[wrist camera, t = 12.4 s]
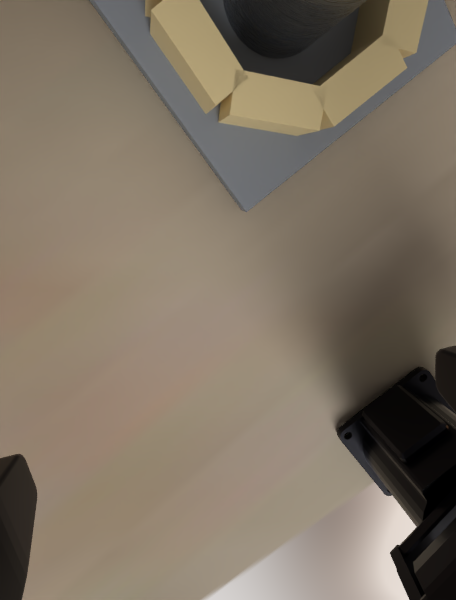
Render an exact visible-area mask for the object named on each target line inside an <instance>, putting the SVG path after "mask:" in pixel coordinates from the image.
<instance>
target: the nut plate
mask: <svg viewBox="0 0 456 600" xmlns="http://www.w3.org/2000/svg"><path fill="white" fill-rule="evenodd" d="M89 1H90V2H91V3H92V5H93V6H94V8H95V9H96V10H97V12H98V13H99V14H100V16H101V17H102V19H103V20H104V21H105V23H106V24H107V25H108V27H109V28H110V30H111V31H112V32H113V34H114V35H115V36H116V38H117V39H118V41H119V42H120V43H121V45H122V46H123V47H124V49H125V50H126V52H127V53H128V54H129V56H130V57H131V58H132V60H133V61H134V63H135V64H136V65H137V67H138V68H139V70H140V71H141V72H142V74H143V75H144V76H145V78H146V79H147V81H148V82H149V83H150V85H151V86H152V87H153V89H154V90H155V92H156V93H157V94H158V96H159V97H160V98H161V100H162V101H163V103H164V104H165V105H166V107H167V108H168V109H169V111H170V112H171V114H172V115H173V116H174V118H175V119H176V121H177V122H178V123H179V125H180V126H181V127H182V129H183V130H184V132H185V133H186V134H187V136H188V137H189V138H190V140H191V141H192V143H193V144H194V145H195V147H196V148H197V149H198V151H199V152H200V154H201V155H202V156H203V158H204V159H205V160H206V162H207V163H208V165H209V166H210V167H211V169H212V170H213V171H214V173H215V174H216V176H217V177H218V178H219V180H220V181H221V183H222V184H223V185H224V187H225V188H226V189H227V191H228V192H229V194H230V195H231V196H232V198H233V199H234V200H235V202H236V203H237V205H238V206H239V207H240V209H241V210H243V211H245V212H247V211H248V210H250V209H251V208H252V207H253V206H255V205H256V204H257V203H258V202H260V201H261V200H262V199H263V198H265V197H266V196H267V195H268V194H270V193H271V192H272V191H273V190H274V189H276V188H277V187H278V186H279V185H281V184H282V183H283V182H284V181H286V180H287V179H288V178H289V177H291V176H292V175H293V174H294V173H296V172H297V171H298V170H299V169H301V168H302V167H303V166H304V165H306V164H307V163H308V162H309V161H311V160H312V159H313V158H314V157H316V156H317V155H318V154H319V153H321V152H322V151H323V150H324V149H326V148H327V147H328V146H329V145H331V144H332V143H333V142H334V141H335V140H337V139H338V138H339V137H340V136H342V135H343V134H344V133H345V132H347V131H348V130H349V129H350V128H352V127H353V126H354V125H355V124H357V123H358V122H359V121H360V120H362V119H363V118H364V117H365V116H367V115H368V114H369V113H370V112H372V111H373V110H374V109H375V108H377V107H378V106H379V105H380V104H382V103H383V102H384V101H385V100H387V99H388V98H389V97H390V96H392V95H393V94H394V93H395V92H397V91H398V90H399V89H400V88H401V87H403V86H404V85H405V84H406V83H408V82H409V81H410V80H411V79H413V78H414V77H415V76H416V75H418V74H419V73H420V72H421V71H423V70H424V69H425V68H426V67H428V66H429V65H430V64H431V63H433V62H434V61H435V60H436V59H438V58H439V57H440V56H441V55H443V54H444V53H445V52H446V51H448V50H449V49H450V48H451V47H453V46H454V45H455V44H456V27H455V25H454V23H453V20H452V18H451V16H450V13H449V11H448V8H447V6H446V4H445V1H444V0H367V1H365V2H364V3H363V4H362V5H360V6H359V7H358V8H357V9H355V10H354V11H353V12H352V13H350V14H349V15H348V16H347V17H345V18H344V19H343V20H342V21H340V22H339V23H338V24H337V25H335V26H334V27H333V28H332V29H330V30H329V31H328V32H327V33H325V34H324V35H323V36H322V37H320V38H319V39H318V40H317V41H315V42H314V43H313V44H312V45H310V46H309V47H308V48H306V49H305V50H304V51H302V52H300V53H298V54H297V55H294V56H291V57H287V58H269V57H265V56H262V55H260V54H258V53H256V52H254V51H252V50H251V49H249V48H248V47H247V46H246V45H245V44H244V43H243V42H242V41H241V40H240V39H239V38H238V36H237V35H236V34H235V32H234V31H233V29H232V27H231V25H230V23H229V20H228V18H227V15H226V12H225V8H224V2H223V0H89Z"/></svg>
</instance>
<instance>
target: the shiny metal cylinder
mask: <svg viewBox="0 0 456 600" xmlns="http://www.w3.org/2000/svg"><path fill="white" fill-rule="evenodd" d="M365 1H367V0H223V2H224V8H225V12H226V15H227V18H228V20H229V23H230V25H231V27H232V29H233V31H234V32H235V34H236V35H237V36H238V38H239V39H240V40H241V41H242V42H243V43H244V44H245V45H246V46H247V47H248V48H249V49H251V50H252V51H254V52H256V53H258V54H260V55H262V56H265V57H269V58H287V57H291V56H294V55H297V54H298V53H300V52H302V51H304V50H305V49H306V48H308V47H309V46H310V45H312V44H313V43H314V42H315V41H317V40H318V39H319V38H320V37H322V36H323V35H324V34H325V33H327V32H328V31H329V30H330V29H332V28H333V27H334V26H335V25H337V24H338V23H339V22H340V21H342V20H343V19H344V18H345V17H347V16H348V15H349V14H350V13H352V12H353V11H354V10H355V9H357V8H358V7H359V6H360V5H362V4H363V3H364V2H365Z"/></svg>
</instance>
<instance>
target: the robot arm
mask: <svg viewBox="0 0 456 600" xmlns="http://www.w3.org/2000/svg"><path fill="white" fill-rule="evenodd" d="M422 374H423V376H422V377H421V378H420V376H421V375H422ZM347 432H349V433H348V434H347V435H345V434H346V433H347ZM337 435H338V437H339V439H340V440H341V441H342V443H343V444H344V445H345V446H346V447H347V449H348V450H349V451H350V452H351V454H352V455H353V456H354V457H355V458H356V460H357V461H358V462H359V463H360V465H361V466H362V467H363V468H364V469H365V471H366V472H367V473H368V474H369V476H370V477H371V478H372V479H373V480H374V482H375V483H376V484H377V485H378V486H379V488H380V489H381V490H382V491H383V493H384V494H385V495H387V496H391V495H393V496H394V498H395V499H396V500H397V501H398V503H399V504H400V506H401V507H402V508H403V510H404V511H405V512H406V513H407V515H408V516H409V517H410V519H411V520H412V521H413V523H414V524H415V525H416V526H417V527H416V528H415V530H414V531H413V532H412V533H411V534H410V535H409V536H408V537H407V538H406V539H405V540H404V541H403V542H402V543H401V545H397V546H396V547H395V548H394V549H393V550H392V551H391V552H390V554H391V557H392V559H393V561H394V564H395V566H396V568H397V572H398V575H399V577H400V579H401V581H402V584H403V586H404V588H405V590H406V593H407V595H408V597H409V600H456V346H451V347H447V348H443V349H440V350H439V351H437V353H436V362H435V379H434V378H433V376H432V375H431V373H430V372H429V371H428V370H426V369H425V368H423V367H418V368H416V369H415V370H413V371H412V372H411V373H410V374H408V375H407V376H406V377H404V378H403V379H402V380H400V381H399V382H398V383H397V384H395V385H394V386H393V387H391V388H390V389H389V390H388V391H386V392H385V393H384V394H382V395H381V396H380V397H378V398H377V399H376V400H375V401H373V402H372V403H371V404H369V405H368V406H367V407H366V408H364V409H363V410H362V411H360V412H359V413H358V414H356V415H355V416H354V417H353V418H351V419H350V420H349V421H347V422H346V423H345V424H344V425H342V426H341V427H340V428H339V429H338V431H337ZM344 435H345V436H344ZM36 503H37V489H36V485H35V483H34V480H33V478H32V475H31V472H30V470H29V467H28V465H27V462H26V460H25V458H24V457H23V455H21V454H15V455H11V456H7V457H3V458H0V600H22V596H23V592H24V587H25V583H26V578H27V572H28V565H29V558H30V550H31V542H32V535H33V527H34V519H35V511H36Z"/></svg>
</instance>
